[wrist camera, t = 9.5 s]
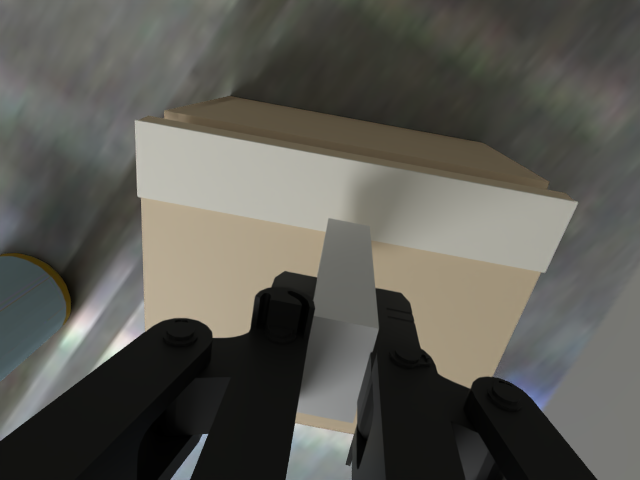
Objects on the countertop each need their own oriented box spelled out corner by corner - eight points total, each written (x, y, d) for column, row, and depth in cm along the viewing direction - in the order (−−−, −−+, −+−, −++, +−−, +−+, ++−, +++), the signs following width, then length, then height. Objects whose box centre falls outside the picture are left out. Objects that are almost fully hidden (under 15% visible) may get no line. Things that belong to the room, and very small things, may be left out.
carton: (424, 331, 32) (452, 437, 23) (212, 291, 32) (155, 380, 23) (482, 142, 27) (549, 182, 18) (229, 95, 27) (164, 110, 18)
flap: (455, 440, 23) (458, 455, 22) (151, 382, 23) (144, 396, 22) (567, 193, 16) (578, 202, 16) (146, 115, 16) (134, 120, 16)
